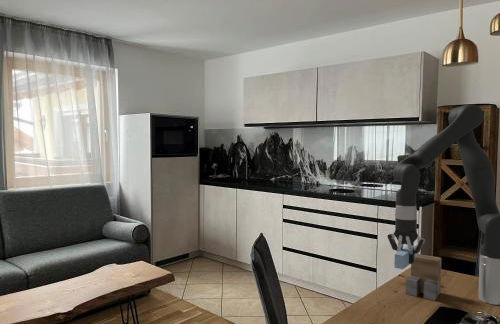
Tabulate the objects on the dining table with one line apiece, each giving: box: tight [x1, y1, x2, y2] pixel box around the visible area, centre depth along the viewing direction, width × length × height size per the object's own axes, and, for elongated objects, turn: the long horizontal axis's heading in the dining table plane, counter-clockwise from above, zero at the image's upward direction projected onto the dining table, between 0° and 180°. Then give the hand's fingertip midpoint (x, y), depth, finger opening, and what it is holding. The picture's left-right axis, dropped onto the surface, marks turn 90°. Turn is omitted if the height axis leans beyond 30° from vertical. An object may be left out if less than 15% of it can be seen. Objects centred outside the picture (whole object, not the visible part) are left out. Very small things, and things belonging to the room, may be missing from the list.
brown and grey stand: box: [405, 253, 442, 302], centre depth 152 cm, size 10×11×14 cm
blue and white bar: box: [394, 243, 418, 270], centre depth 146 cm, size 19×3×5 cm, turn 140°
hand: (405, 262), depth 144 cm, fingers closed on blue and white bar, 3 cm apart
